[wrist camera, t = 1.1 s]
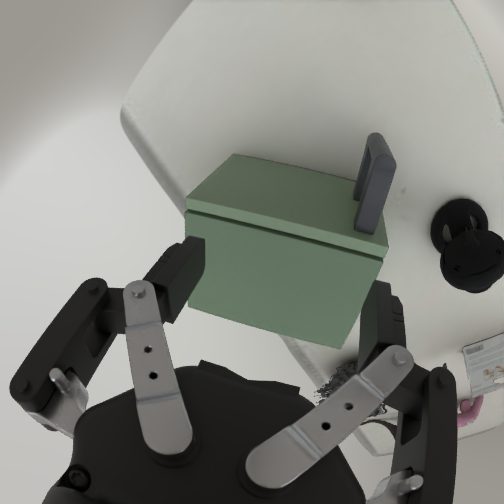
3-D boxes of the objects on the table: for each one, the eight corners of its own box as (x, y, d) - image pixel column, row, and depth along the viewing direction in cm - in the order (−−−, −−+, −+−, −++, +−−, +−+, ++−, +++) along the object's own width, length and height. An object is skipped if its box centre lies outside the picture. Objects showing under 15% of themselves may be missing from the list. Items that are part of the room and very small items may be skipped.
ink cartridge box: (519, 334, 34) (534, 382, 26) (463, 354, 39) (470, 405, 32) (520, 324, 33) (536, 373, 25) (462, 346, 39) (471, 398, 31)
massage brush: (446, 362, 41) (451, 410, 34) (330, 387, 52) (322, 431, 45) (440, 328, 38) (448, 381, 31) (309, 359, 49) (299, 407, 42)
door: (238, 97, 29) (186, 118, 20) (393, 131, 26) (418, 169, 17) (232, 162, 33) (185, 208, 24) (375, 195, 31) (384, 258, 22)
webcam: (437, 262, 33) (454, 322, 25) (421, 211, 30) (441, 266, 22) (490, 241, 29) (519, 297, 21) (480, 187, 26) (517, 235, 18)
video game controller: (437, 395, 49) (433, 428, 46) (445, 394, 45) (441, 428, 42) (476, 394, 46) (472, 425, 43) (485, 392, 42) (482, 425, 39)
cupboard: (232, 163, 33) (184, 212, 24) (374, 197, 31) (383, 262, 22) (226, 244, 40) (187, 306, 31) (346, 275, 37) (340, 349, 28)
